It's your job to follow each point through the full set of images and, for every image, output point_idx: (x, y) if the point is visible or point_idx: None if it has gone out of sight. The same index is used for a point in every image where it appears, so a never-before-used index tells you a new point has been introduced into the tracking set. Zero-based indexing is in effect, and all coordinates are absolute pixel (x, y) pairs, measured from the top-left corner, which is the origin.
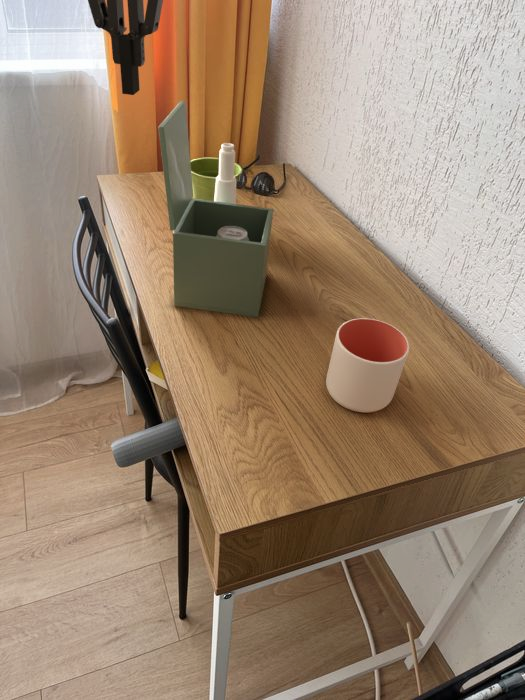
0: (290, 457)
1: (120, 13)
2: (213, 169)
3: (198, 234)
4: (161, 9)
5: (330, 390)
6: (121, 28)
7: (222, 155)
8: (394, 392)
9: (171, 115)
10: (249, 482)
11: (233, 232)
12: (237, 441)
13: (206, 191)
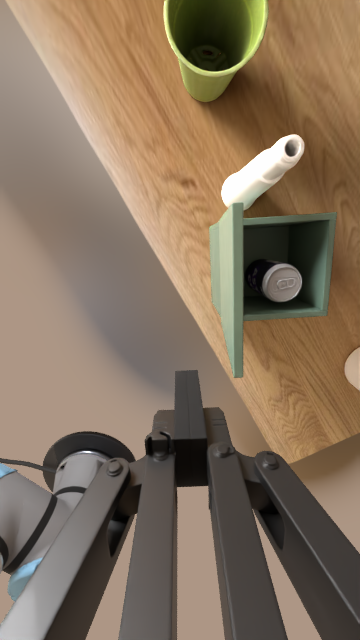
0: (315, 423)
1: (175, 516)
2: None
3: (251, 315)
4: (322, 508)
5: (348, 379)
6: (175, 479)
7: (278, 168)
8: None
9: (239, 313)
10: (293, 442)
11: (285, 281)
12: (283, 420)
13: (208, 82)
